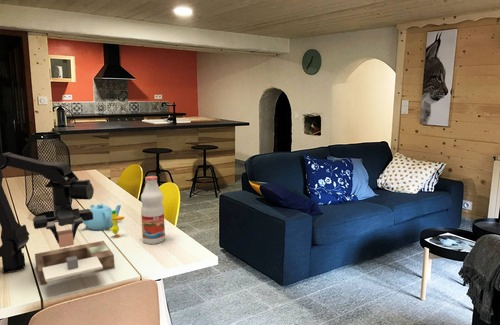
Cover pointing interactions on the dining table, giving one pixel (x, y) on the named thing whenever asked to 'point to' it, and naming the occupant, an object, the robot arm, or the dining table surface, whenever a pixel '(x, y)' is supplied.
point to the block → (65, 238)
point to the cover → (71, 268)
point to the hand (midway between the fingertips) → (65, 241)
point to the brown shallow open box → (80, 252)
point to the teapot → (101, 217)
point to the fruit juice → (152, 212)
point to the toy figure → (115, 223)
